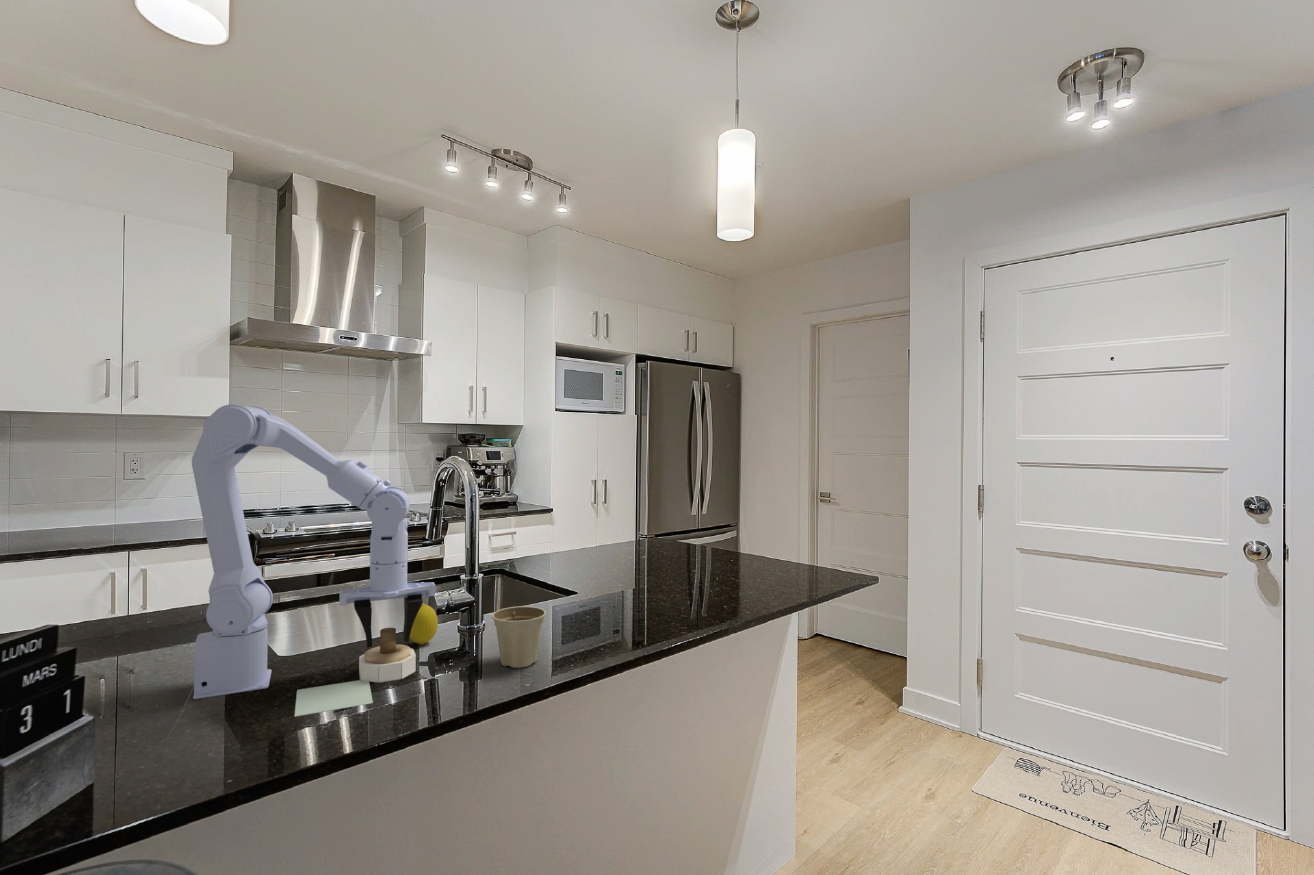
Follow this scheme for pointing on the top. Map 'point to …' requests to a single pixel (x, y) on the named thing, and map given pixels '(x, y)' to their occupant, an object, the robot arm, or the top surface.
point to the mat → (332, 697)
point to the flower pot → (518, 634)
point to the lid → (387, 649)
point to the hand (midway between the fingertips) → (387, 642)
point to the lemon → (424, 625)
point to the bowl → (387, 669)
